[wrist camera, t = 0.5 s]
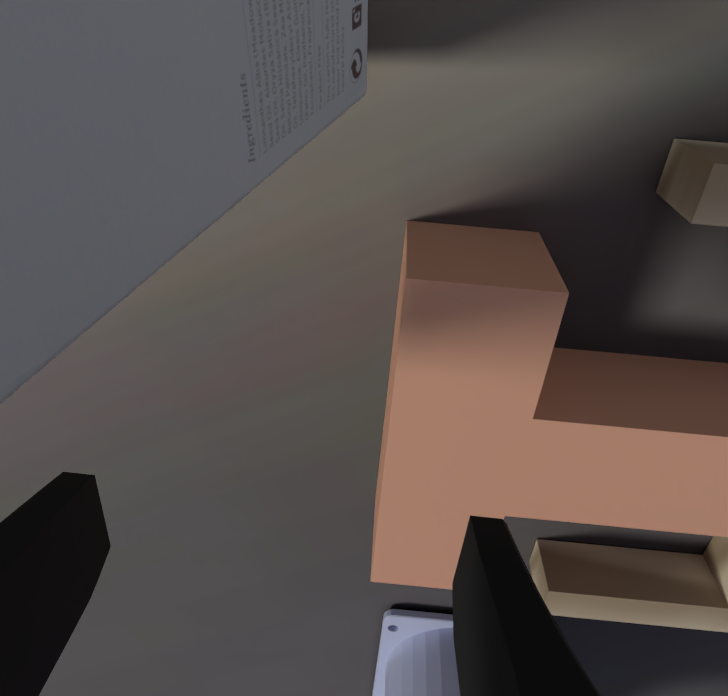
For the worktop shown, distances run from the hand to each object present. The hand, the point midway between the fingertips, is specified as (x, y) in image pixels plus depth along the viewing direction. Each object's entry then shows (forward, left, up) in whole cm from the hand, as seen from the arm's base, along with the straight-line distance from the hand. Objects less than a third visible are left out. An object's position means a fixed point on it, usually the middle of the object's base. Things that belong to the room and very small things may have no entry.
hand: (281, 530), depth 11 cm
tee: (-3, -8, -10) cm, 13 cm away
